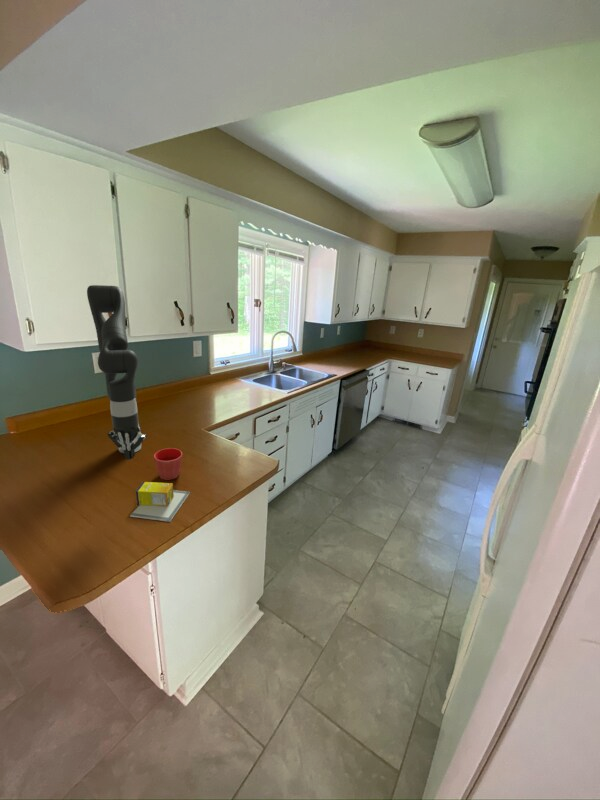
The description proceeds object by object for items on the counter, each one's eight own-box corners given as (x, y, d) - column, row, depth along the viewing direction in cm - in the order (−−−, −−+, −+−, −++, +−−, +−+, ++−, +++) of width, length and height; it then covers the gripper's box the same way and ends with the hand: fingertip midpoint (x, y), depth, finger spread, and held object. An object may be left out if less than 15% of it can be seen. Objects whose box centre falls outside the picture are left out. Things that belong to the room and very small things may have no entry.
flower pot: (184, 467, 137) (183, 447, 134) (181, 481, 127) (180, 460, 124) (158, 468, 135) (157, 448, 132) (153, 483, 125) (151, 461, 122)
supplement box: (144, 494, 117) (174, 496, 118) (136, 505, 112) (168, 506, 112) (143, 481, 115) (173, 482, 116) (135, 491, 110) (167, 492, 110)
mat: (154, 488, 122) (154, 487, 122) (190, 492, 121) (190, 491, 121) (130, 516, 107) (130, 515, 107) (170, 521, 106) (170, 520, 106)
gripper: (150, 409, 105) (154, 455, 111) (112, 405, 106) (118, 450, 112) (137, 418, 98) (142, 466, 104) (96, 413, 99) (104, 461, 105)
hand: (129, 458), depth 108 cm, fingers closed
